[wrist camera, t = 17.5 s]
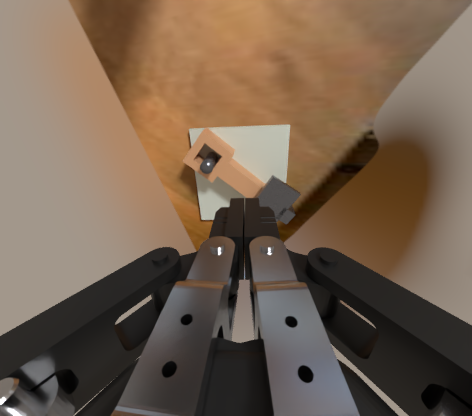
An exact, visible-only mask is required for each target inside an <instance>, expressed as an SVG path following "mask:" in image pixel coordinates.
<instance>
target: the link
mask: <svg viewBox="0 0 472 416" xmlns="http://www.w3.org/2000/svg"><path fill="white" fill-rule="evenodd" d="M205 144H207V145H208V146H209V147H210V148H212V149H213V150H214V151H216V152H217V153H218V154H220V155H221V157H220V158H219V159H218V161H217V162H216V164H215V166H214V168H213V170H212V172H211V173H209V174H205V173H203V172H202V171H201V170H200V165H201V163H202V162H203V160H204V158H203V157H202V156H200V155H199V152H200V151H201V149H202V148H203V146H204V145H205ZM234 152H235V149H234V148H232V147H231V146H230V145H228V144H227V143H226V142H225V141H223V140H222V139H221V138H220V137H218V136H217V135H216V134H215V133H213V132H212V131H211V130H210V129H208V128H205V129H204V130H203V131H202V132H201V134H200V135H199V137H198V138H197V140H196V141H195V143H194V144H193V146H192V147H191V149H190V150H189V152H188V153H187V155H186V156H185V158H184V159H183V162H184V163H185V164H187V165H188V166H190V167H191V168H192V169H194V170H195V171H197V172H198V173H199V174H201V175H202V176H204V177H205V178H206V179H208V180H209V181H211V182H212V183H213V181H214V180H215V179H216V177H217V176H218V177H219V178H220V179H222V180H223V181H225V182H226V183H227V184H229V185H230V186H231V187H233V188H234V189H235V190H237V191H238V192H240V193H241V194H242V195H244V196H245V197H246V198H255V197H256V196H257V195H258V193H259V192H260V191H261V189H262V188H263V187H264V185H265V183H264V182H262V181H261V180H260V179H258V178H257V177H256V176H255V175H253V174H252V173H251V172H249V171H248V170H247V169H246V168H244V167H243V166H242V165H240V164H239V163H238V162H237V161H235V160H234V159H233V158H232V157H233V155H234Z"/></svg>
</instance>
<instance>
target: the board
mask: <svg viewBox="0 0 472 416" xmlns="http://www.w3.org/2000/svg"><path fill="white" fill-rule="evenodd" d="M204 129H205V128H190V129H189V133H190V140H191V147H192V146H193V144H194V143H195V141H196V140H197V138H198V137H199V135H200V134H201V132H202V131H203V130H204ZM208 129H210V130H211V131H212V132H213V133H215V134H216V135H217V136H218V137H220V138H221V139H222V140H223V141H225V142H226V143H227V144H228V145H230V146H231V147H232V148H234V149H235V152H234V155H233V157H232V158H233V159H234V160H235V161H237V162H238V163H239V164H240V165H242V166H243V167H244V168H246V169H247V170H248V171H249V172H251V173H252V174H253V175H255V176H256V177H257V178H258V179H260V180H261V181H262V182H264V183H265V184H266V183H267V181H268V180H269V179H270V178H271V176H272V175H274V176H275V177H277V178H278V179H280V180H281V181H283V182H284V183H286V177H287V163H288V148H289V134H290V125H289V124H288V125H264V126H239V127H215V128H208ZM210 152H214V153H215V154H216V155H217V157H218V159H219V158H220V157H221V155H220V154H218V153H217V152H216V151H214V150H213V149H212V148H210V147H209V146H208V145H207V144H205V145H204V146H203V148H202V149H201V151H200V152H199V155H200V156H202V157H203V158H204V159H205V157H206V156H207V155H208V153H210ZM218 159H217V161H218ZM195 176H196V183H197V190H198V197H199V205H200V212H201V219H202V220H214V217H215V213H216V211H217V210H218V209H220V208H221V207H229V205H230V199H231V198H244V211H245V198H246V197H245V196H244V195H242V194H241V193H240V192H238V191H237V190H235V189H234V188H233V187H231V186H230V185H229V184H227V183H226V182H225V181H223V180H222V179H220V178H219V177H218V176H217V177H216V179H215V180H214V181H213V183H212V182H211V181H209V180H208V179H206V178H205V177H204V176H202V175H201V174H199V173H198V172H197V171H195Z"/></svg>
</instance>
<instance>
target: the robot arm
mask: <svg viewBox="0 0 472 416" xmlns="http://www.w3.org/2000/svg"><path fill="white" fill-rule="evenodd" d="M244 252H245V279H246V280H250V301H251V310H252V320H253V331H254V340H251V341H247V342H244V343H236V342H233V341H232V331H233V325H234V318H235V311H236V303H237V296H238V295H237V294H238V288H239V280H244ZM149 295H151V297H152V299H151V300H150V301H149V302H147V303H146V304H145V305H143V306H142V307H140V308H139V309H138V310H136V311H135V312H134V313H132V314H131V315H129V316H128V317H127V318H125V319H124V320H123V321H121V322H120V323H118V324H116V325H115V322H116V321H117V319H118V318H119V317H120V316H121V315H122V314H124V313H125V312H127V311H128V310H129V309H131V308H132V307H134V306H135V305H137V304H138V303H139V302H141V301H142V300H144V299H145V298H146V297H148V296H149ZM340 300H342V301H343V302H345V303H346V304H347V305H349V306H350V307H352V308H353V309H354V310H356V311H357V312H358V313H360V314H361V315H363V316H364V317H365V318H367V319H368V320H369V321H370V322H372V324H374V326H375V327H376V328H374V327H373V326H372V325H370V324H369V323H367V322H366V321H365V320H363V319H362V318H361V317H359V316H358V315H357V314H355V313H354V312H353V311H351V310H350V309H349V308H347V307H346V306H344V305H343V304H342V303H340ZM331 344H332V345H333V346H334V347H335V348H336V349H337V350H338V351H339V352H341V353H342V354H343V355H344V356H345V357H346V358H347V359H348V360H349V361H350V362H351V363H352V364H353V365H355V366H356V367H357V368H358V369H359V370H360V371H361V372H362V373H363V374H364V375H365V376H367V377H368V378H369V379H370V380H371V381H372V382H373V383H374V384H375V385H376V386H377V387H378V388H379V389H381V390H382V391H383V392H384V393H385V394H386V395H387V396H388V397H389V398H390V399H391V400H393V401H394V402H395V403H396V404H397V405H398V406H399V407H400V408H401V409H402V410H403V411H404V412H406V413H407V414H408V415H409V416H472V325H470V324H468V323H466V322H464V321H463V320H461V319H459V318H457V317H455V316H454V315H452V314H450V313H448V312H446V311H445V310H443V309H441V308H439V307H437V306H436V305H433V304H432V303H430V302H428V301H427V300H425V299H423V298H421V297H419V296H418V295H416V294H414V293H412V292H410V291H408V290H407V289H405V288H403V287H401V286H400V285H398V284H396V283H394V282H392V281H390V280H389V279H387V278H385V277H383V276H382V275H380V274H378V273H376V272H374V271H373V270H371V269H369V268H367V267H365V266H364V265H362V264H360V263H358V262H356V261H354V260H353V259H351V258H349V257H347V256H345V255H344V254H342V253H340V252H338V251H336V250H333V249H330V248H315V249H313V250H311V251H310V252H309V253H308V256H307V255H302V254H298V253H294V252H292V251H290V250H288V249H286V247H285V245H284V243H283V242H282V241H281V240H280V237H279V232H278V228H277V223H276V219H275V214H274V211H273V210H272V209H271V208H270V207H260V205H259V198H245V211H244V198H231V199H230V205H229V207H221V208H220V209H218V210H217V211H216V213H215V217H214V221H213V224H212V228H211V232H210V236H209V239H207V240H205V241H204V242H203V243H202V244H201V246H200V248H199V250H198V251H197V252H194V253H191V254H186V255H182V256H180V255H179V253H178V251H177V250H176V249H174V248H170V247H163V248H158V249H155V250H153V251H151V252H149V253H147V254H145V255H144V256H142V257H140V258H138V259H136V260H135V261H133V262H131V263H129V264H128V265H126V266H124V267H122V268H120V269H119V270H117V271H115V272H114V273H111V274H110V275H108V276H106V277H104V278H103V279H101V280H99V281H98V282H96V283H94V284H92V285H90V286H88V287H87V288H85V289H83V290H81V291H80V292H78V293H76V294H74V295H73V296H71V297H69V298H67V299H65V300H64V301H62V302H60V303H58V304H56V305H55V306H53V307H51V308H49V309H48V310H46V311H44V312H42V313H40V314H39V315H37V316H35V317H33V318H32V319H30V320H28V321H26V322H24V323H23V324H21V325H19V326H17V327H16V328H14V329H12V330H10V331H9V332H7V333H5V334H3V335H2V336H0V416H73V415H74V414H75V413H76V412H77V411H78V410H79V409H80V408H82V407H83V406H84V405H85V404H86V403H87V402H88V401H90V400H91V399H92V398H93V397H94V396H95V395H96V394H98V393H99V392H100V391H101V390H102V389H103V388H104V387H105V388H104V389H103V390H102V391H101V392H100V393H99V394H98V395H97V396H96V397H94V398H93V399H92V400H91V401H90V402H89V403H88V404H87V405H86V406H85V407H84V408H83V409H82V410H81V411H79V412H78V413H77V414H76V415H75V416H398V415H397V414H396V413H395V412H394V411H393V410H392V409H391V408H390V407H389V406H388V405H387V404H386V403H385V402H384V401H383V400H382V399H381V398H380V397H379V396H378V395H377V394H376V393H375V392H374V391H373V390H372V389H371V388H370V387H369V386H368V385H367V384H366V383H365V382H364V381H363V380H362V379H361V378H360V377H359V376H358V375H357V374H356V373H355V372H354V371H353V370H351V369H350V368H349V367H348V366H346V365H345V364H344V363H342V362H341V361H339V360H338V359H337V358H336V356H335V353H334V351H333V348H332V346H331ZM139 356H140V358H138V357H139ZM137 358H138V359H137ZM136 359H137V360H136ZM135 360H136V361H135ZM113 379H114V380H113ZM112 380H113V381H112ZM111 381H112V382H111ZM110 382H111V383H110ZM109 383H110V384H109Z"/></svg>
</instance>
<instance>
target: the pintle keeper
mask: <svg viewBox="0 0 472 416" xmlns="http://www.w3.org/2000/svg"><path fill="white" fill-rule="evenodd" d="M217 159H218V157H217V155H216V154H215V153H214V152H210V153H208V155H207V156H206V157H205V159H204V160H203V162H202V163H201V165H200V170H201V171H202V172H203V173H205V174H209V173H211V172H212V170H213V168H214V166H215V164H216V162H217ZM300 195H301V194H300V193H299V192H298V191H297V190H295V189H294V188H292V187H291V186H289V185H287V184H286V183H284V182H283V181H281V180H280V179H278V178H277V177H275V176H274V175H272V176H271V178H270V179H269V180H268V181H267V183H266V184H265V185H264V187H263V188H262V189H261V191H260V192H259V193H258V195H257V196H256V197H255V198H259V205H260V207H270V208H271V209H272V210H273V211H274V214H275V219H276V222H277V221H278V220H280V221H282V222H283V223H285V224H287V223H288V222H289V221H290V220H291V219H292V218H293V217H294V216H295V215H296V214H295V212H294V209H293V207H292V204H293V203H294V202H295V201H296V199H297V198H298V197H299V196H300Z"/></svg>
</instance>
